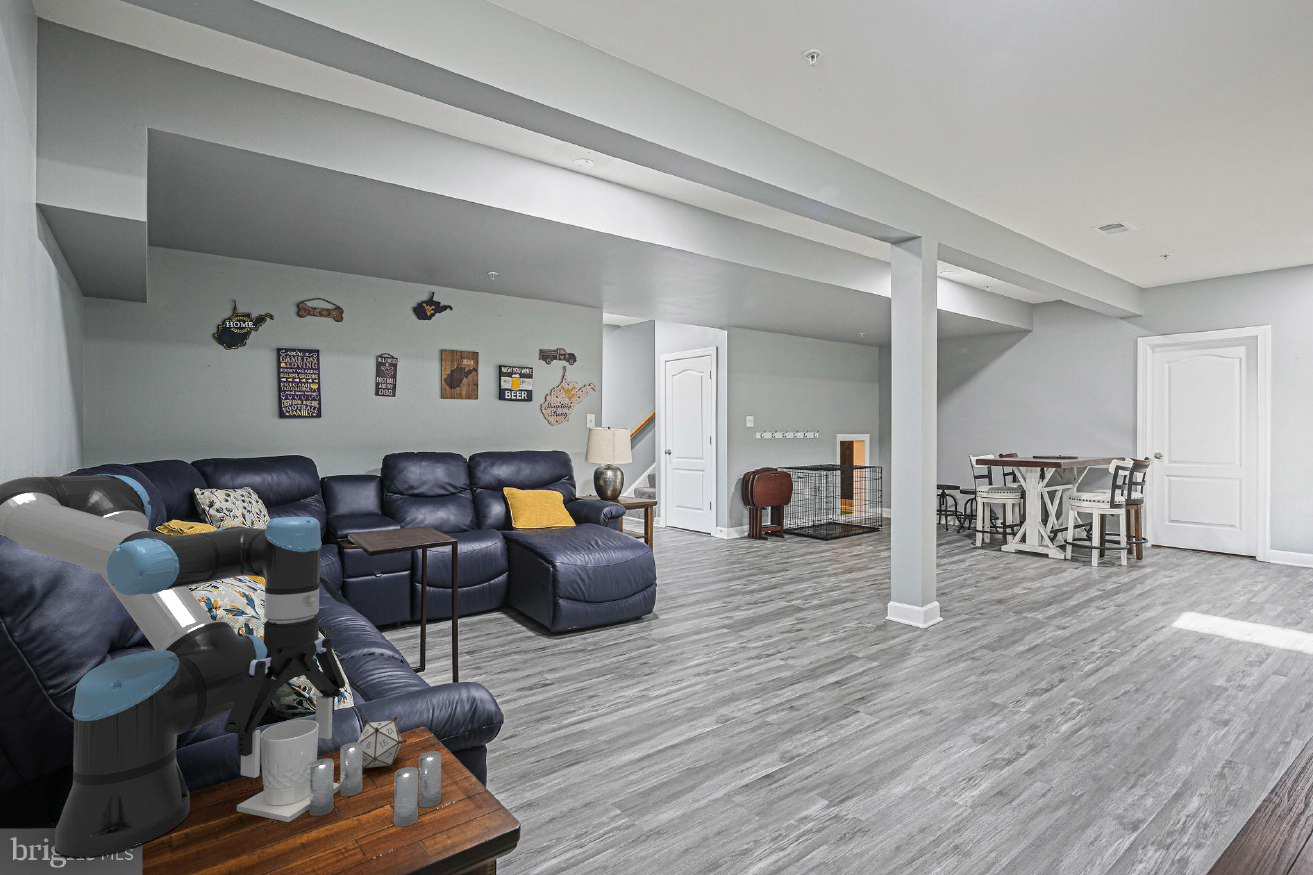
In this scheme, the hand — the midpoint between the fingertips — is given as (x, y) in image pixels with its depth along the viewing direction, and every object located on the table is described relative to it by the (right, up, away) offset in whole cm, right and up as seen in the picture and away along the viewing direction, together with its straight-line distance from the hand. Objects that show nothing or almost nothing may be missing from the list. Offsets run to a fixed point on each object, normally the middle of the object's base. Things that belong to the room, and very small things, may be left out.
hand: (289, 755), depth 103 cm
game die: (+10, -7, +10) cm, 16 cm away
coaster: (0, -7, 0) cm, 7 cm away
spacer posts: (+14, -7, -2) cm, 16 cm away
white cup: (0, -6, 0) cm, 6 cm away
